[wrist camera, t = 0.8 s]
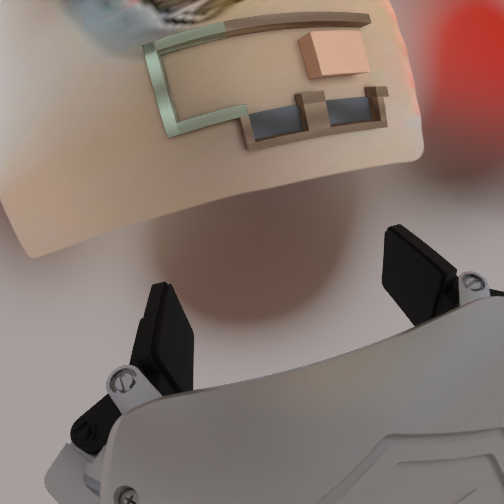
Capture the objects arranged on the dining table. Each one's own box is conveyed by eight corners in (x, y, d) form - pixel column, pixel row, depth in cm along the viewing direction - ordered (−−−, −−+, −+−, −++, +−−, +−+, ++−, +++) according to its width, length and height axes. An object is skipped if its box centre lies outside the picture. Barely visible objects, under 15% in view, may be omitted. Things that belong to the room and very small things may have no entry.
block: (298, 40, 28) (309, 31, 24) (343, 38, 28) (359, 30, 24) (308, 79, 31) (322, 75, 27) (353, 74, 31) (370, 71, 27)
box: (147, 50, 26) (142, 45, 24) (358, 18, 26) (368, 14, 24) (181, 167, 35) (178, 172, 32) (381, 124, 35) (393, 126, 32)
